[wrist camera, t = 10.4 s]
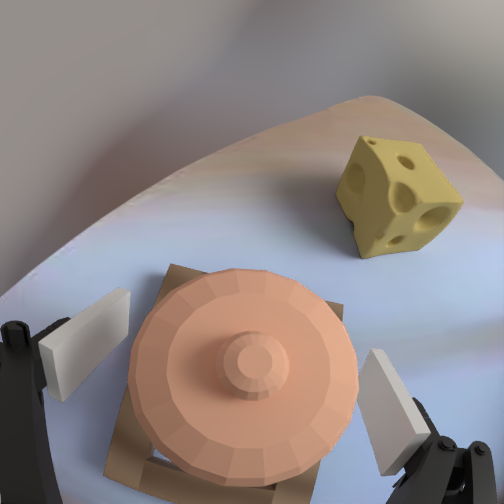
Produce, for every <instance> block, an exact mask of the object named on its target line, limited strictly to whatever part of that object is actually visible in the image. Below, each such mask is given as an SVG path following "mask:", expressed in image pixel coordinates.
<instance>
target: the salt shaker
mask: <svg viewBox="0 0 504 504" xmlns="http://www.w3.org/2000/svg"><path fill="white" fill-rule="evenodd" d="M127 381H128V386H129V391H130V396H131V400H132V405H133V409H134V413H135V417H136V418H137V420H138V422H139V423H140V425H141V427H142V428H143V430H144V432H145V433H146V435H147V436H148V438H149V439H150V441H151V442H152V444H153V446H154V447H155V448H156V449H157V450H158V451H159V452H160V453H162V454H163V455H164V456H165V457H166V458H168V459H169V460H170V461H171V462H173V463H174V464H175V465H177V466H178V467H179V468H180V469H182V470H183V471H184V472H186V473H188V474H191V475H193V476H196V477H199V478H201V479H204V480H207V481H210V482H213V483H216V484H219V485H222V486H238V487H260V486H267V485H270V484H273V483H277V482H280V481H283V480H286V479H289V478H292V477H294V476H297V475H300V474H302V473H303V472H304V471H306V470H307V469H309V468H310V467H311V466H313V465H314V464H315V463H317V462H318V461H319V460H321V459H322V458H323V457H324V456H326V455H327V454H328V453H329V452H331V450H332V449H333V447H334V446H335V444H336V443H337V441H338V440H339V438H340V437H341V436H342V434H343V432H344V431H345V429H346V428H347V426H348V425H349V423H350V421H351V417H352V414H353V410H354V406H355V403H356V399H357V395H358V391H359V382H358V367H357V356H356V353H355V350H354V348H353V345H352V343H351V340H350V338H349V335H348V333H347V331H346V328H345V326H344V324H343V323H342V322H341V321H340V319H339V318H338V317H337V316H336V314H335V313H334V312H333V311H332V309H331V308H330V307H329V306H328V304H327V303H326V302H325V301H324V300H323V299H322V298H320V297H319V296H317V295H316V294H314V293H313V292H312V291H310V290H309V289H307V288H306V287H304V286H303V285H302V284H300V283H299V282H297V281H294V280H292V279H289V278H286V277H283V276H280V275H277V274H274V273H272V272H269V271H265V270H250V269H235V268H232V269H227V270H223V271H218V272H213V273H208V274H204V275H200V276H198V277H196V278H194V279H192V280H190V281H188V282H187V283H185V284H183V285H181V286H179V287H177V288H175V289H174V290H172V291H170V292H169V293H168V294H167V295H166V296H165V297H164V298H163V299H162V300H161V301H160V302H159V303H158V304H157V305H156V306H155V307H154V308H153V309H152V310H151V311H150V312H149V314H148V315H147V316H146V318H145V320H144V322H143V324H142V326H141V328H140V330H139V332H138V334H137V336H136V338H135V340H134V342H133V344H132V348H131V355H130V363H129V371H128V380H127Z"/></svg>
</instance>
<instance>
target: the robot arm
mask: <svg viewBox="0 0 504 504" xmlns="http://www.w3.org/2000/svg"><path fill="white" fill-rule="evenodd" d="M130 292H131V291H128V290H125V289H122V288H119V287H118V288H117V289H115V290H114V291H112V292H111V293H109V294H108V295H106V296H105V297H103V298H102V299H100V300H98V301H97V302H95V303H94V304H92V305H91V306H89V307H88V308H87V309H85V310H84V311H82V312H81V313H79V314H78V315H76V316H75V317H73V318H72V319H71V318H69V317H66V318H63V319H59V320H57V321H56V322H54V323H53V324H51V325H50V326H48V327H47V328H46V329H44V330H42V331H41V332H39V333H38V334H36V335H35V336H33V337H32V338H31V337H30V331H29V326H28V325H27V324H26V323H24V322H22V321H9V322H6V323H5V324H3V325H2V327H1V328H0V330H1V335H2V340H3V343H2V342H0V494H1V504H63V502H62V499H61V495H60V492H59V488H58V484H57V480H56V476H55V472H54V468H53V463H52V458H51V453H50V447H49V441H48V435H47V428H46V420H45V411H44V399H43V393H42V389H43V388H44V387H45V386H47V388H48V392H49V395H50V396H51V397H53V398H55V399H56V400H58V401H60V402H62V403H64V402H65V401H66V399H67V398H68V397H69V396H70V395H71V394H72V393H73V392H74V391H75V390H76V389H77V388H78V387H79V385H80V384H81V383H82V382H83V381H84V380H85V379H86V378H87V377H88V376H89V375H90V374H91V373H92V372H93V371H94V370H95V369H96V368H97V366H98V365H99V364H100V363H101V362H102V361H103V360H104V359H105V358H106V357H107V356H108V355H109V354H110V353H111V352H112V351H113V350H114V349H115V348H116V347H117V346H118V345H119V344H120V343H121V342H122V341H123V340H124V339H125V338H126V337H127V335H128V325H129V306H130ZM358 382H359V391H358V395H357V402H358V405H359V408H360V411H361V414H362V417H363V420H364V423H365V426H366V429H367V432H368V435H369V439H370V442H371V445H372V448H373V451H374V455H375V458H376V461H377V464H378V468H379V471H380V475H381V476H391V475H396V474H397V473H398V472H399V471H400V470H401V469H402V468H403V467H404V469H405V472H406V473H405V474H404V475H403V476H402V477H401V478H400V479H399V480H398V481H397V482H396V483H395V484H394V485H393V486H392V487H393V488H394V487H395V486H396V485H397V486H396V488H395V489H394V491H393V493H392V494H391V496H390V498H389V499H388V501H387V502H386V504H497V495H496V484H495V475H494V467H493V461H492V455H491V451H490V448H489V447H488V446H487V444H485V443H484V442H481V441H474V442H472V444H471V445H470V446H469V447H468V449H464V448H457V445H456V443H455V442H454V441H453V440H452V439H450V438H449V437H446V436H440V435H439V433H438V431H437V430H436V428H435V426H434V424H433V423H432V421H431V419H430V418H429V416H428V414H427V412H426V410H425V409H424V407H423V405H422V404H421V403H420V402H419V401H418V400H417V399H416V398H412V397H411V396H410V394H409V392H408V391H407V389H406V387H405V385H404V384H403V382H402V380H401V379H400V377H399V375H398V374H397V372H396V370H395V369H394V367H393V365H392V364H391V362H390V360H389V359H388V357H387V356H386V354H385V352H384V351H383V350H381V349H374V348H371V350H370V352H369V354H368V356H367V358H366V361H365V363H364V365H363V367H362V369H361V371H360V373H359V376H358ZM464 484H465V486H464V489H463V485H464Z"/></svg>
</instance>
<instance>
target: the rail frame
mask: <svg viewBox="0 0 504 504" xmlns="http://www.w3.org/2000/svg"><path fill="white" fill-rule="evenodd" d="M204 274H208V273H206V272H202V271H198V270H194V269H190V268H186V267H183V266H179V265H175V264H170V266H169V269H168V271H167V273H166V276H165V279H164V281H163V284H162V286H161V289H160V291H159V294H158V297H157V299H156V302H155V305H154V307H155V306H156V305H157V304H158V303H159V302H160V301H161V300H162V299H163V298H164V297H165V296H166V295H167V294H168V293H169V292H170V291H172V290H174V289H175V288H177V287H179V286H181V285H183V284H185V283H187V282H188V281H190V280H192V279H194V278H196V277H198V276H200V275H204ZM325 302H326V303H327V304H328V306H329V307H330V308H331V309H332V311H333V312H334V313H335V314H336V316H337V317H338V318H339V319H340V321H341V322H342V318H343V304H338V303H334V302H329V301H325ZM154 307H153V308H154ZM154 448H155V447H154V446H153V444H152V442H151V441H150V439H149V438H148V436H147V435H146V433H145V432H144V430H143V428H142V427H141V425H140V423H139V422H138V420H137V418H136V417H135V413H134V409H133V405H132V400H131V396H130V391H129V386H128V383H127V387H126V390H125V393H124V397H123V400H122V403H121V407H120V410H119V414H118V418H117V421H116V425H115V429H114V432H113V436H112V440H111V444H110V448H109V452H108V456H107V460H106V465H105V469H104V474H103V476H105V477H107V478H109V479H111V480H114V481H116V482H118V483H121V484H123V485H125V486H128V487H130V488H133V489H135V490H138V491H140V492H143V493H146V494H149V495H151V496H154V497H157V498H160V499H163V500H166V501H170V502H173V503H176V504H310V500H311V497H312V493H313V489H314V485H315V482H316V478H317V474H318V469H319V465H320V461H321V460H319V461H318V462H317V463H315V464H314V465H313V466H311V467H310V468H309V469H307V470H306V471H304V472H303V473H302V474H300V475H297V476H294V477H292V478H289V479H286V480H283V481H280V482H277V483H273V484H270V485H267V486H260V487H238V486H222V485H219V484H216V483H213V482H210V481H207V480H204V479H201V478H199V477H196V476H193V475H191V474H188V473H186V472H184V471H183V470H182V469H180V468H179V467H178V466H177V465H175V464H174V463H172V462H169V461H166V460H163V459H160V458H157V457H154V456H153V452H154Z"/></svg>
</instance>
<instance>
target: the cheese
mask: <svg viewBox="0 0 504 504" xmlns="http://www.w3.org/2000/svg"><path fill="white" fill-rule="evenodd" d="M336 197H337V199H338V201H339V203H340V205H341V207H342V209H343V211H344V213H345V215H346V217H347V218H348V219H349V220H350V221H352V222H353V223H354V232H353V235H354V238H355V240H356V243H357V246H358V249H359V252H360V255H361V258H362V259H366V258H371V257H375V256H379V255H384V254H391V253H398V252H406V251H415V250H420V249H421V248H422V247H424V246H425V245H426V244H428V243H429V242H430V241H432V240H433V239H434V238H435V237H436V236H437V235H438V234H439V233H440V232H442V231H443V230H444V229H445V228H446V227H447V226H448V224H449V223H450V222H451V221H452V219H453V218H454V217H455V215H456V214H457V212H458V211H459V209H460V208H461V206H462V205H463V203H464V201H463V199H462V197H461V196H460V195H459V193H458V192H457V191H456V189H455V188H454V187H453V186H452V185H451V183H450V182H449V181H448V180H447V178H446V177H445V176H444V175H443V173H442V172H441V171H440V169H439V168H438V167H437V165H436V164H435V163H434V161H433V160H432V159H431V157H430V156H429V155H428V153H427V152H426V151H425V149H424V148H423V147H422V145H421V144H418V143H414V142H407V141H396V140H387V139H380V138H373V137H367V136H360V137H359V139H358V141H357V143H356V145H355V147H354V150H353V152H352V154H351V157H350V159H349V162H348V164H347V166H346V168H345V170H344V173H343V175H342V177H341V180H340V183H339V186H338V188H337V191H336Z"/></svg>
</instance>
